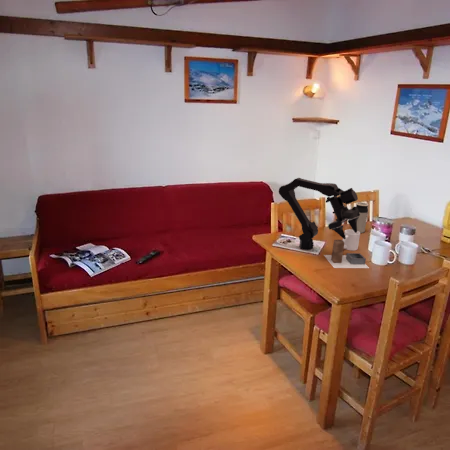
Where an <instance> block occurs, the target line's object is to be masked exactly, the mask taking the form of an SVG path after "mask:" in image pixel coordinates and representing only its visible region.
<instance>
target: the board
mask: <svg viewBox="0 0 450 450" xmlns="http://www.w3.org/2000/svg"><path fill="white" fill-rule="evenodd" d="M346 255H347V254H344V255H343V256H342V263H334V262H333V261H332V260H331V258H332V254H323V256H324V257H325V259H326V260H327V261H328V262H329V264H330V265H331V266H332V267H333V268H334V269H370V267H369V266H368V265H367V264H366V263H365V264H350V262H349V261H348V260H347V259H346Z"/></svg>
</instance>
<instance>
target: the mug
mask: <svg viewBox="0 0 450 450" xmlns="http://www.w3.org/2000/svg"><path fill="white" fill-rule="evenodd" d="M344 234H345V237H346V239H343V238H342V239H341V240H342V241H343V242H344V250H348V251H351V252H352V251H357V250H358V248H359V243H360V237H361V233H360V232H359V231H357V232H356V233H355V232H354V230H352V229H345V230H344Z"/></svg>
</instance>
